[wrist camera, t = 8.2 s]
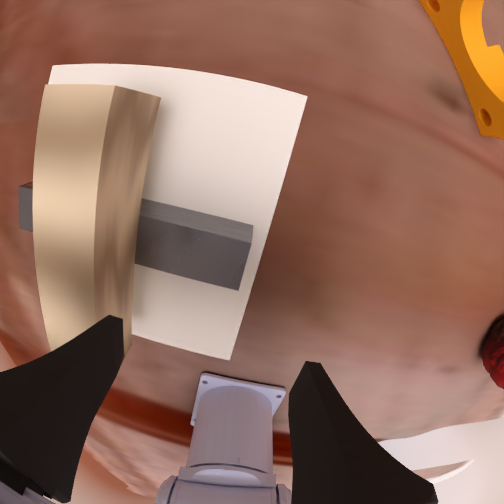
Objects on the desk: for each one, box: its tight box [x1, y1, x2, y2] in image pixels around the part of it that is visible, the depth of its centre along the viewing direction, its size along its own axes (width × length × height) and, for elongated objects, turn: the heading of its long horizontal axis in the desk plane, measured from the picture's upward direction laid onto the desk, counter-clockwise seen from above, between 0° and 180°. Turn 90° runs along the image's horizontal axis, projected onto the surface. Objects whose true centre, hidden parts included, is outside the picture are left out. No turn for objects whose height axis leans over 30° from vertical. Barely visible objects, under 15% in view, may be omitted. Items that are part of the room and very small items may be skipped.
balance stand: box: [19, 64, 307, 360], centre depth 17 cm, size 20×18×4 cm
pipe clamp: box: [419, 0, 504, 139], centre depth 10 cm, size 12×4×6 cm, turn 29°
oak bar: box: [33, 84, 161, 364], centre depth 13 cm, size 16×4×5 cm, turn 165°
